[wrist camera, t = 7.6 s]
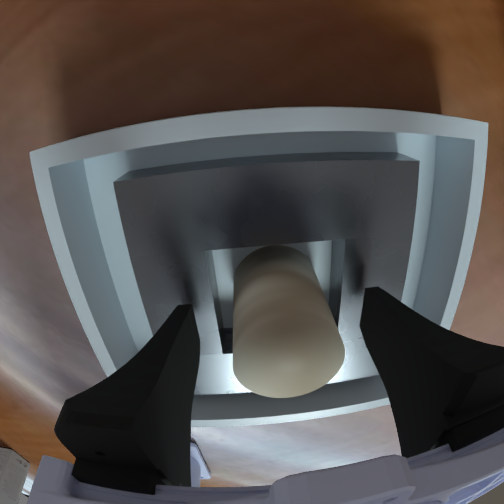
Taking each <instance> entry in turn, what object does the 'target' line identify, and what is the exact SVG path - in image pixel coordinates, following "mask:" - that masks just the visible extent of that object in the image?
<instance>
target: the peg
mask: <svg viewBox="0 0 504 504" xmlns="http://www.w3.org/2000/svg"><path fill="white" fill-rule="evenodd" d="M344 358H345V347H344V344H343V341H342V338H341V336H340V333H339V331H338V328H337V326H336V323H335V320H334V318H333V315H332V313H331V310H330V308H329V305H328V303H327V300H326V298H325V295H324V293H323V290H322V288H321V286H320V283H319V281H318V278H317V276H316V273H315V271H314V269H313V266H312V264H311V262H310V261H309V259H308V258H307V257H306V256H305V255H304V254H303V253H301V252H300V251H298V250H296V249H294V248H291V247H288V246H283V245H271V246H265V247H262V248H259V249H257V250H255V251H253V252H251V253H250V254H249V255H247V256H246V257H245V258H244V259H243V260H242V261H241V263H240V264H239V265H238V267H237V269H236V272H235V275H234V288H233V372H234V374H235V377H236V378H237V380H238V381H239V382H240V384H241V385H243V386H244V387H245V388H246V389H248V390H249V391H251V392H253V393H256V394H259V395H262V396H266V397H272V398H289V397H296V396H300V395H304V394H307V393H310V392H312V391H315V390H317V389H319V388H320V387H322V386H324V385H325V384H327V383H328V382H329V381H330V380H331V379H333V377H334V376H335V375H336V374H337V373H338V372H339V370H340V368H341V367H342V365H343V362H344Z"/></svg>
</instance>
